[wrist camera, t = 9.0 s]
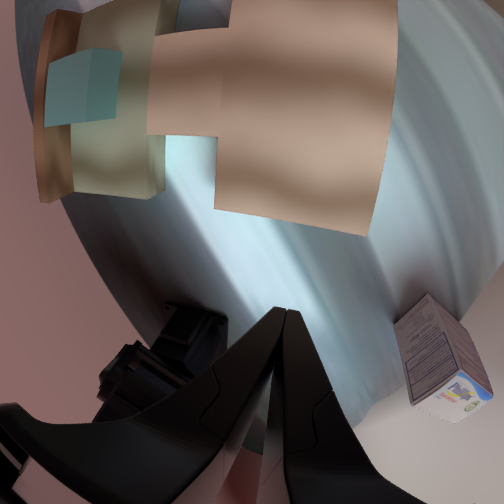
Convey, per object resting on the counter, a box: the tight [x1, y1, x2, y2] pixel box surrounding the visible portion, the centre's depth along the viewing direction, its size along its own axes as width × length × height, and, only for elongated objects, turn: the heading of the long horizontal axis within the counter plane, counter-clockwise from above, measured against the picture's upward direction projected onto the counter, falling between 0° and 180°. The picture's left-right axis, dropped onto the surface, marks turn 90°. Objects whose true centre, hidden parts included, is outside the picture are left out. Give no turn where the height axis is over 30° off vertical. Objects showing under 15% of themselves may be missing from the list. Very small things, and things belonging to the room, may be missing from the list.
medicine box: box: [393, 294, 493, 424], centre depth 16 cm, size 8×4×9 cm, turn 58°
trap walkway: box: [34, 0, 398, 237], centre depth 13 cm, size 16×24×6 cm, turn 84°
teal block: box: [44, 47, 122, 127], centre depth 13 cm, size 5×5×3 cm
